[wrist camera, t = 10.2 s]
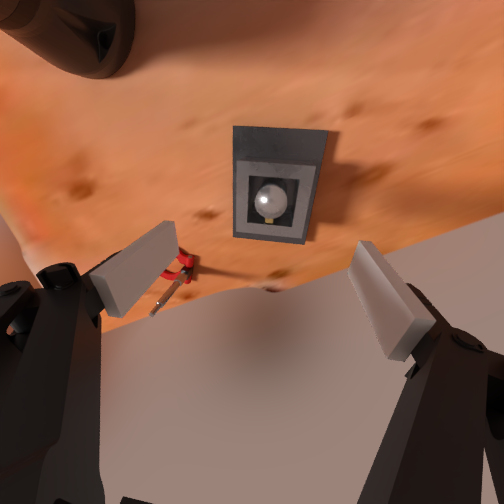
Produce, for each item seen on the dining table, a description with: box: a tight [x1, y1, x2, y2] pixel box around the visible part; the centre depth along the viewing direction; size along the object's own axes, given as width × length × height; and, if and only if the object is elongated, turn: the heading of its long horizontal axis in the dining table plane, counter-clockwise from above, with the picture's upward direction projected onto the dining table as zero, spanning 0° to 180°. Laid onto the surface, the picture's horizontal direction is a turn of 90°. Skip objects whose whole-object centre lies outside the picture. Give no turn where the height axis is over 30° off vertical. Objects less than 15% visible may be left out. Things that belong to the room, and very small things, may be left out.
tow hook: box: [149, 250, 194, 317], centre depth 35 cm, size 8×13×9 cm
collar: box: [236, 157, 316, 239], centre depth 27 cm, size 9×9×5 cm
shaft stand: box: [233, 126, 328, 245], centre depth 27 cm, size 16×12×7 cm
